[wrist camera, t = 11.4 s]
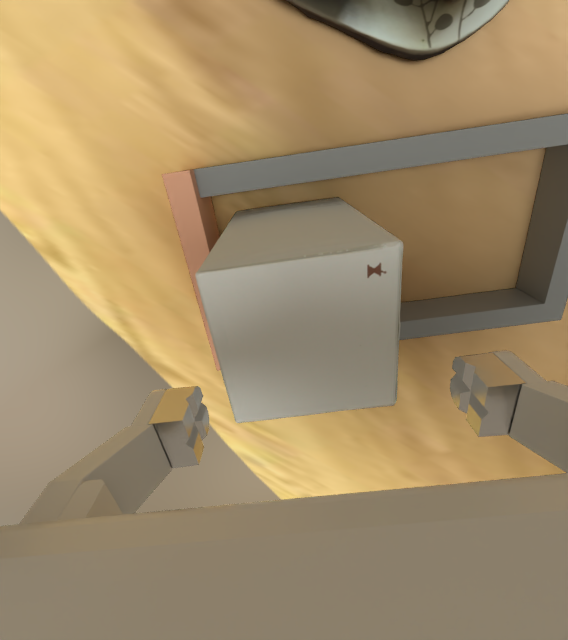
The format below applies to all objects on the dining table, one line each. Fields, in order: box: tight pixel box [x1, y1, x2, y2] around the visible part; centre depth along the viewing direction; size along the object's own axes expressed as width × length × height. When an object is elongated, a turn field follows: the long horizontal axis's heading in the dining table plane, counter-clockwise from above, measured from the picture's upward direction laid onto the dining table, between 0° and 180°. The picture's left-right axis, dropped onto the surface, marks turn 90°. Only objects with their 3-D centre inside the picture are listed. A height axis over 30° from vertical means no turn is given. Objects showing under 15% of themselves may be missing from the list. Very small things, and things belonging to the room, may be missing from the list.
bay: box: [162, 114, 568, 371], centre depth 21 cm, size 25×13×4 cm, turn 98°
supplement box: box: [195, 197, 403, 423], centre depth 18 cm, size 7×7×13 cm
